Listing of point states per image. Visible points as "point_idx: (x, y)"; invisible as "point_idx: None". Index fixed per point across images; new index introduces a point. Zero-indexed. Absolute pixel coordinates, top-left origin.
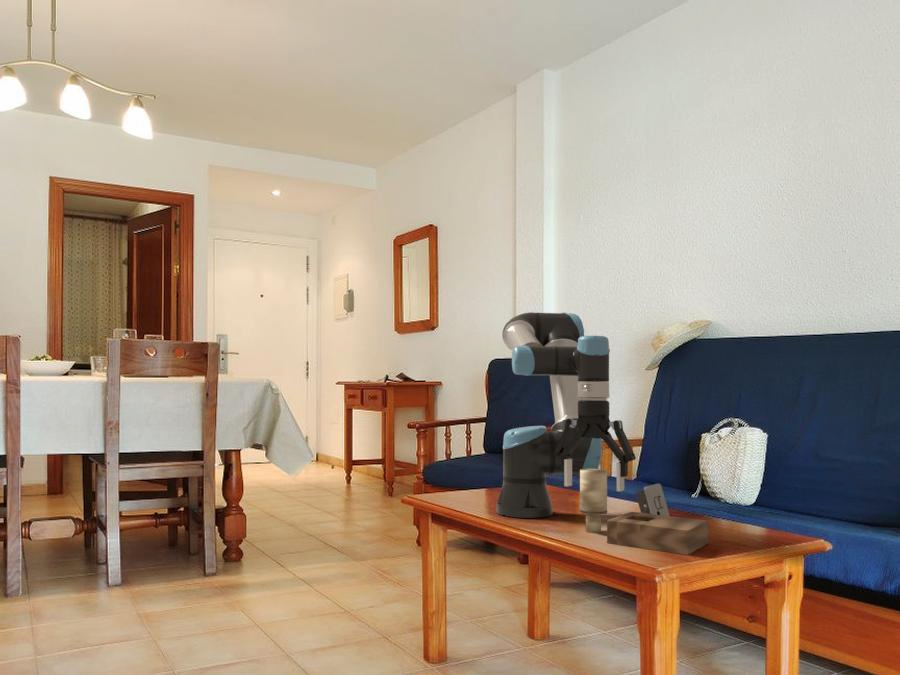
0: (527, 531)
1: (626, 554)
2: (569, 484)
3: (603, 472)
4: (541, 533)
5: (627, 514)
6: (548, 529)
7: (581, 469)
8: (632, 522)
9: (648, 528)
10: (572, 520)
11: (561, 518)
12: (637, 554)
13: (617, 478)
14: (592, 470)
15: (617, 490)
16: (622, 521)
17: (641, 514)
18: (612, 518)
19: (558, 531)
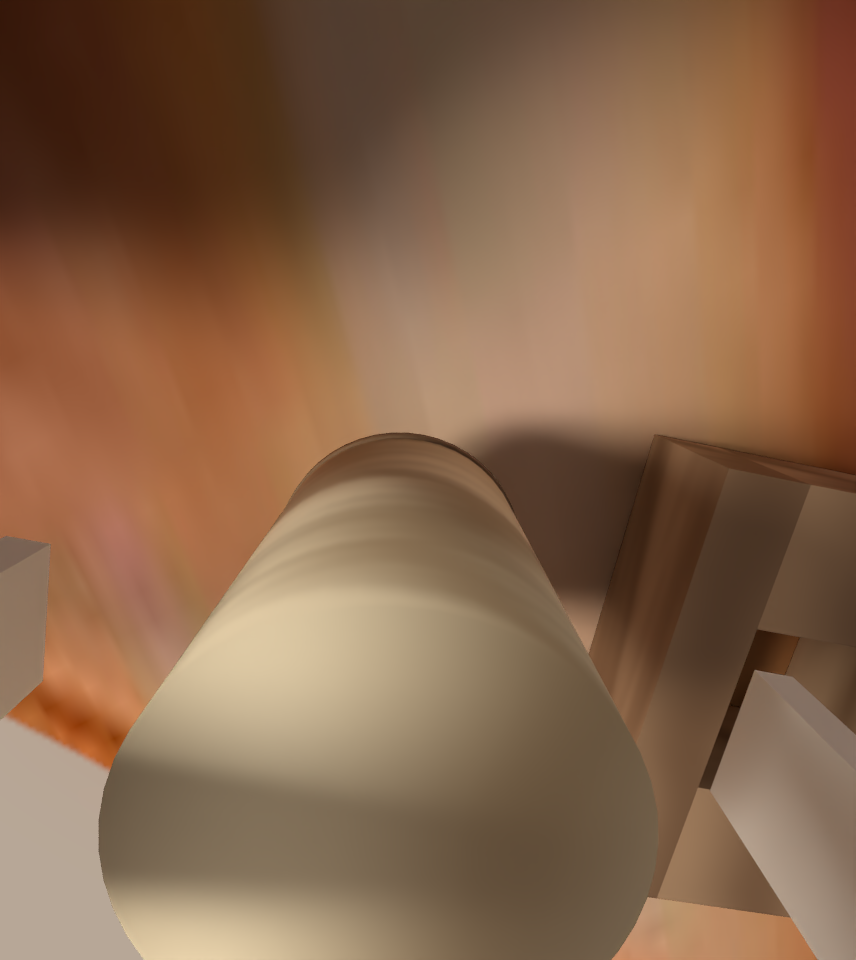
0: (30, 694)
1: (678, 941)
2: (34, 629)
3: (606, 941)
4: (131, 708)
5: (704, 616)
6: (115, 578)
7: (116, 849)
8: (761, 884)
9: None
10: (124, 140)
11: (3, 88)
12: (728, 921)
13: (818, 938)
14: (371, 891)
15: (724, 798)
16: (693, 881)
17: (816, 563)
18: None
19: (198, 607)
